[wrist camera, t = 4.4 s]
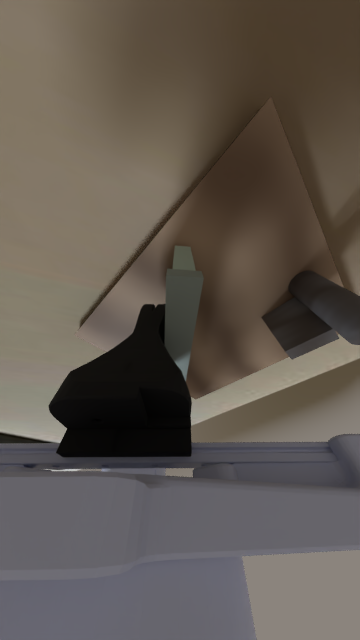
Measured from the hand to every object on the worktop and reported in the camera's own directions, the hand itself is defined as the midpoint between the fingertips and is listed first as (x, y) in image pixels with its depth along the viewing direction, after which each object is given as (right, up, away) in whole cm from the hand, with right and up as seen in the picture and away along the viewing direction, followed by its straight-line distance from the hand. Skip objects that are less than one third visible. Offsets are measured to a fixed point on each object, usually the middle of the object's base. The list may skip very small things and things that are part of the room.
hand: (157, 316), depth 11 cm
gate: (+1, 0, +3) cm, 3 cm away
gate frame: (+5, -1, +5) cm, 7 cm away
